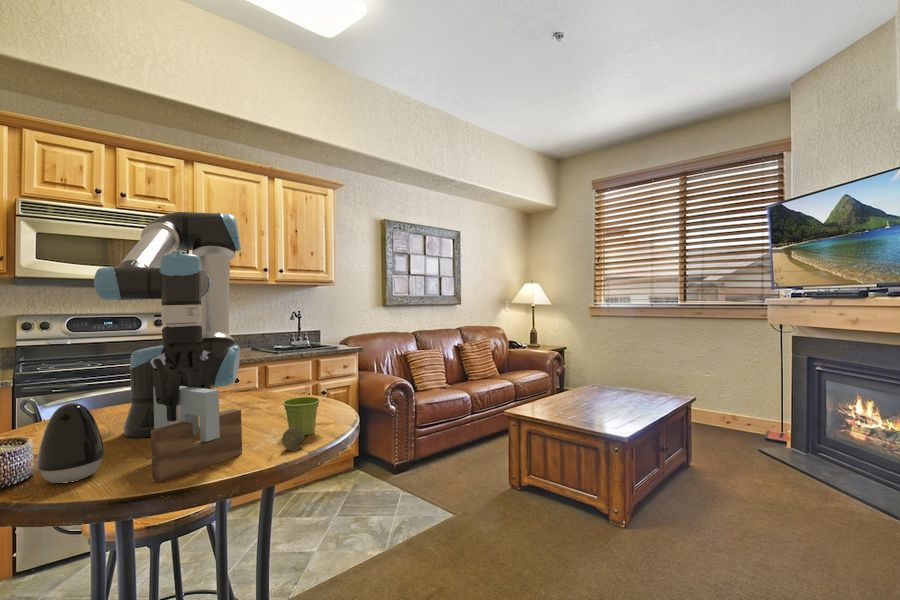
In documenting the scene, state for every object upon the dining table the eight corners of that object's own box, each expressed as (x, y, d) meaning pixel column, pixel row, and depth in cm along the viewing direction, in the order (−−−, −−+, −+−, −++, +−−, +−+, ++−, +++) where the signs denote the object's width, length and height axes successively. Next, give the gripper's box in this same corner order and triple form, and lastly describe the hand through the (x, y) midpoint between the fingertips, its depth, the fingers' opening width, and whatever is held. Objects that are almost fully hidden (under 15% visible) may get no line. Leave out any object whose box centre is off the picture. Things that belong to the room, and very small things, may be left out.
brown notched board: (152, 481, 87) (150, 430, 87) (233, 451, 103) (232, 408, 103) (161, 483, 86) (159, 431, 86) (242, 453, 102) (241, 410, 102)
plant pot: (326, 428, 121) (325, 396, 121) (312, 439, 111) (311, 404, 111) (293, 428, 122) (292, 396, 122) (276, 439, 112) (275, 404, 112)
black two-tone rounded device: (27, 494, 83) (24, 412, 83) (50, 474, 92) (48, 401, 92) (95, 483, 87) (93, 405, 87) (111, 465, 96) (109, 395, 96)
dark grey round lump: (307, 446, 106) (306, 425, 106) (294, 453, 101) (293, 431, 101) (291, 445, 107) (290, 424, 107) (277, 451, 103) (277, 430, 103)
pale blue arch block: (154, 431, 99) (153, 386, 99) (168, 428, 102) (167, 384, 102) (206, 441, 91) (205, 392, 91) (219, 437, 94) (218, 390, 94)
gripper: (153, 327, 88) (156, 446, 88) (227, 323, 102) (229, 425, 102) (132, 327, 91) (135, 442, 91) (206, 323, 106) (208, 422, 106)
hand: (185, 432), depth 97 cm, fingers closed on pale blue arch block, 3 cm apart
